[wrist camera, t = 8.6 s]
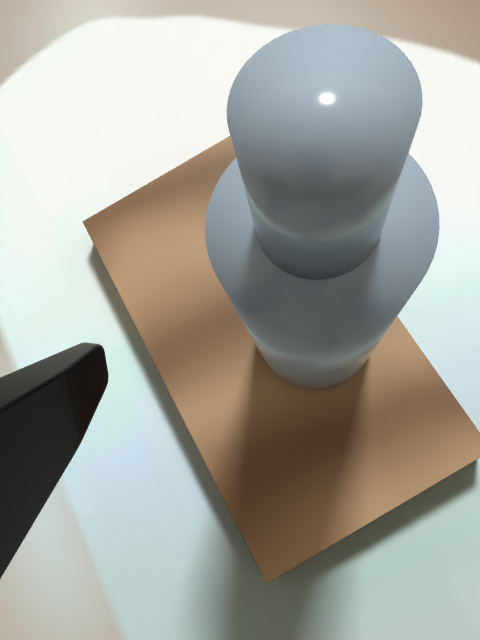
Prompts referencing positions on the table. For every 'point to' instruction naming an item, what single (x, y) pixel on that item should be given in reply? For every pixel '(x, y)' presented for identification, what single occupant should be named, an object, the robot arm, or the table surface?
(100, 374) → the robot arm
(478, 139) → the table surface
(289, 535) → the walnut board
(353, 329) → the slate-blue bottle
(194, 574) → the table surface
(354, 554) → the table surface
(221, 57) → the table surface
